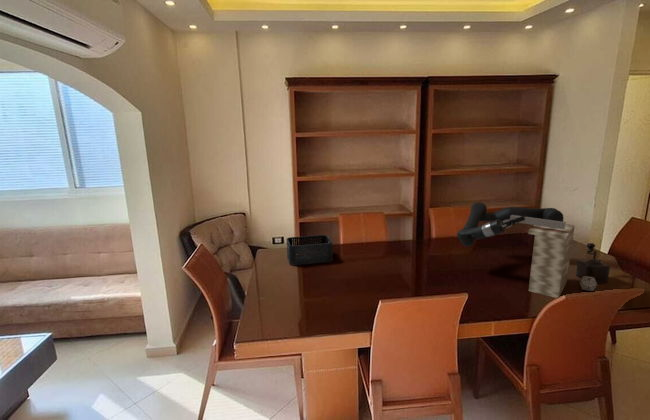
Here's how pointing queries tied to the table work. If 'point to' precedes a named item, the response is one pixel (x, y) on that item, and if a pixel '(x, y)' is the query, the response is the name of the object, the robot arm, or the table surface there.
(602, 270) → the black coffee grinder
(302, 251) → the storage bin
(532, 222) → the steel bar
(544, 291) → the zigzag patterned box
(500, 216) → the robot arm
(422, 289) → the table surface
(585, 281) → the game die
